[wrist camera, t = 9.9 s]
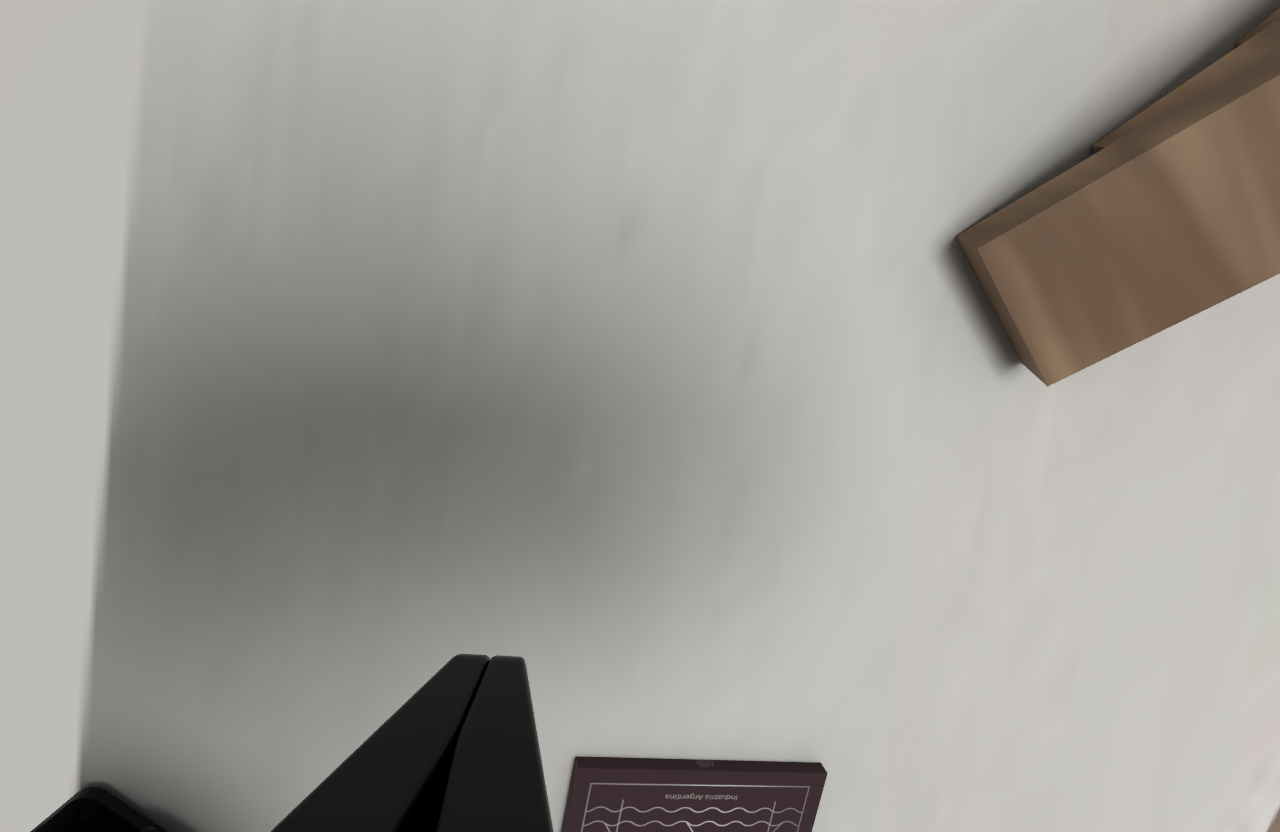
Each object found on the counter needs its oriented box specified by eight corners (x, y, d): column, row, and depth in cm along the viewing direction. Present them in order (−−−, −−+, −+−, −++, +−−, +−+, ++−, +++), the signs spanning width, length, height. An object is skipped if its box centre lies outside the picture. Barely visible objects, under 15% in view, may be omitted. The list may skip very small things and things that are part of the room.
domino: (1047, 386, 20) (1449, 190, 17) (976, 249, 19) (1401, 4, 15) (1021, 363, 22) (1380, 182, 19) (955, 236, 21) (1331, 14, 17)
